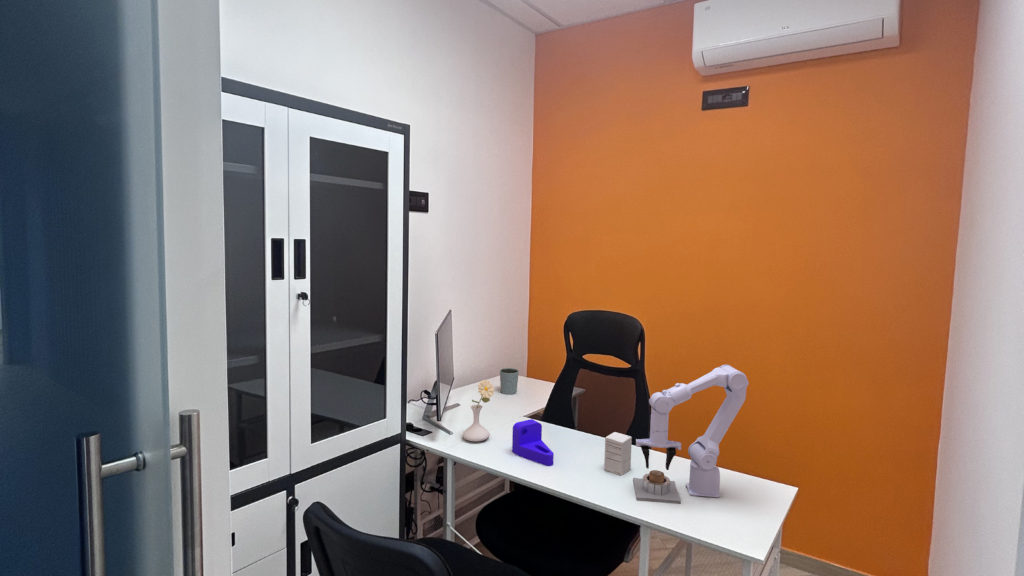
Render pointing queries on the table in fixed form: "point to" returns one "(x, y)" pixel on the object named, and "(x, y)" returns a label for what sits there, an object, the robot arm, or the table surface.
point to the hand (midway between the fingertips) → (657, 468)
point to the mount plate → (645, 496)
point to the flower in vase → (476, 430)
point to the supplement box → (617, 453)
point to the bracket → (531, 442)
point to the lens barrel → (656, 486)
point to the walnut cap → (656, 476)
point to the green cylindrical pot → (508, 381)
